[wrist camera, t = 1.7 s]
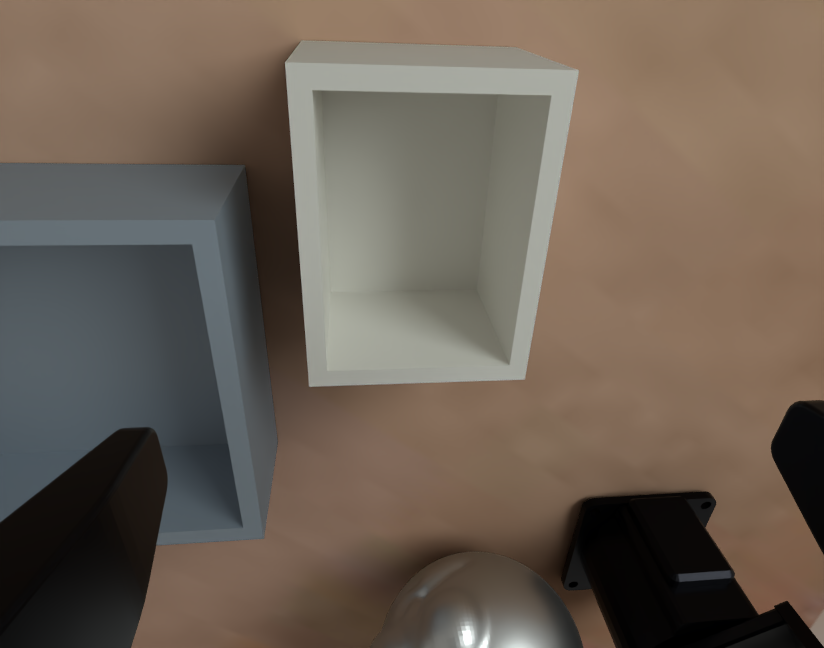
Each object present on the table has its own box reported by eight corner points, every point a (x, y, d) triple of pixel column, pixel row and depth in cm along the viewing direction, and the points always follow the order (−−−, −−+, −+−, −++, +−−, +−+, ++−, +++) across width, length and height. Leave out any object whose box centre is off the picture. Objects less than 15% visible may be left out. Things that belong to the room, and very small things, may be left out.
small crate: (486, 295, 20) (524, 379, 16) (316, 298, 19) (309, 386, 15) (516, 47, 16) (578, 70, 12) (301, 40, 15) (285, 62, 11)
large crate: (277, 442, 23) (263, 538, 19) (-106, 459, 21) (-209, 568, 17) (244, 164, 17) (214, 220, 13) (-288, 160, 15) (-507, 221, 11)
